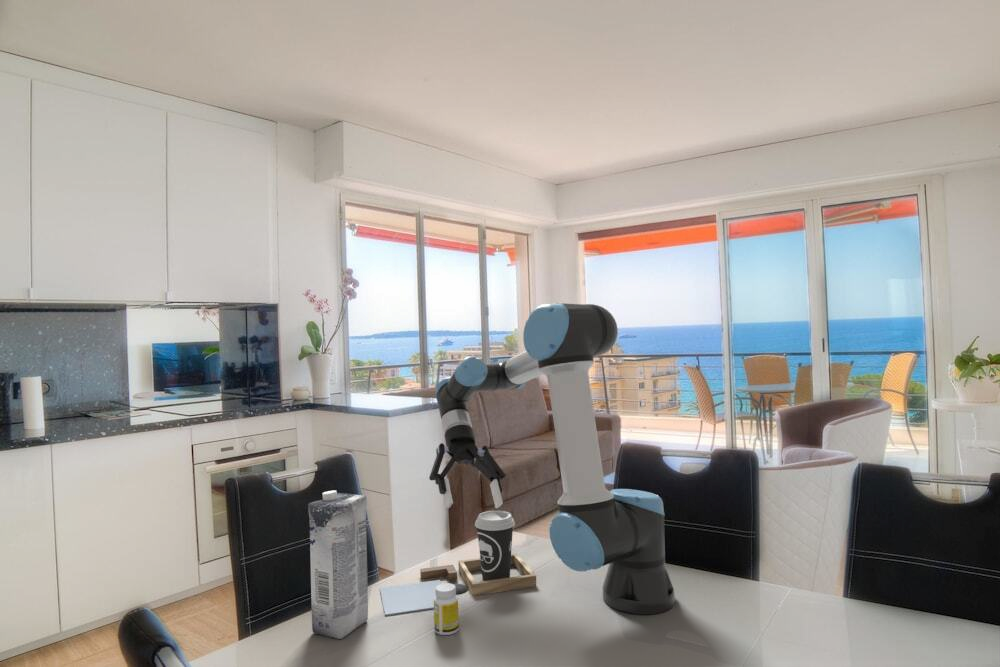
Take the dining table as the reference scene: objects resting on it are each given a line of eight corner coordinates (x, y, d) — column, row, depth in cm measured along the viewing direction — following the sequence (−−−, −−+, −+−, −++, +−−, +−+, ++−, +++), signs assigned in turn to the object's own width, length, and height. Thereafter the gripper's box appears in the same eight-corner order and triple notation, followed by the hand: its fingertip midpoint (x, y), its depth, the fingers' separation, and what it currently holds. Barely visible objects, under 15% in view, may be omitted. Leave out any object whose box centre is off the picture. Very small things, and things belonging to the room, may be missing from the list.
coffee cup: (516, 586, 137) (514, 521, 138) (474, 587, 138) (473, 521, 138) (516, 570, 147) (514, 509, 147) (477, 571, 147) (475, 509, 147)
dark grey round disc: (469, 592, 135) (469, 591, 135) (448, 595, 134) (448, 594, 134) (465, 583, 140) (464, 582, 140) (443, 586, 138) (443, 585, 138)
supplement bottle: (463, 626, 119) (462, 584, 119) (451, 637, 115) (450, 593, 115) (442, 622, 121) (441, 580, 121) (429, 633, 117) (428, 589, 117)
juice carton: (374, 619, 123) (371, 487, 123) (341, 643, 113) (338, 500, 114) (340, 612, 127) (337, 484, 127) (304, 635, 117) (301, 496, 117)
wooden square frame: (536, 586, 137) (536, 575, 137) (472, 595, 133) (472, 584, 133) (516, 563, 152) (516, 553, 152) (458, 571, 147) (458, 560, 148)
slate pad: (451, 606, 128) (451, 604, 128) (385, 615, 124) (385, 614, 124) (439, 581, 142) (439, 579, 142) (379, 589, 138) (379, 587, 138)
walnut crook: (457, 580, 142) (457, 572, 142) (423, 585, 140) (423, 576, 140) (453, 572, 147) (452, 564, 147) (420, 577, 144) (420, 568, 144)
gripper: (493, 441, 166) (511, 512, 153) (408, 436, 154) (421, 513, 141) (505, 426, 161) (525, 498, 148) (419, 419, 149) (433, 498, 136)
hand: (474, 505), depth 144 cm, fingers open, 13 cm apart
